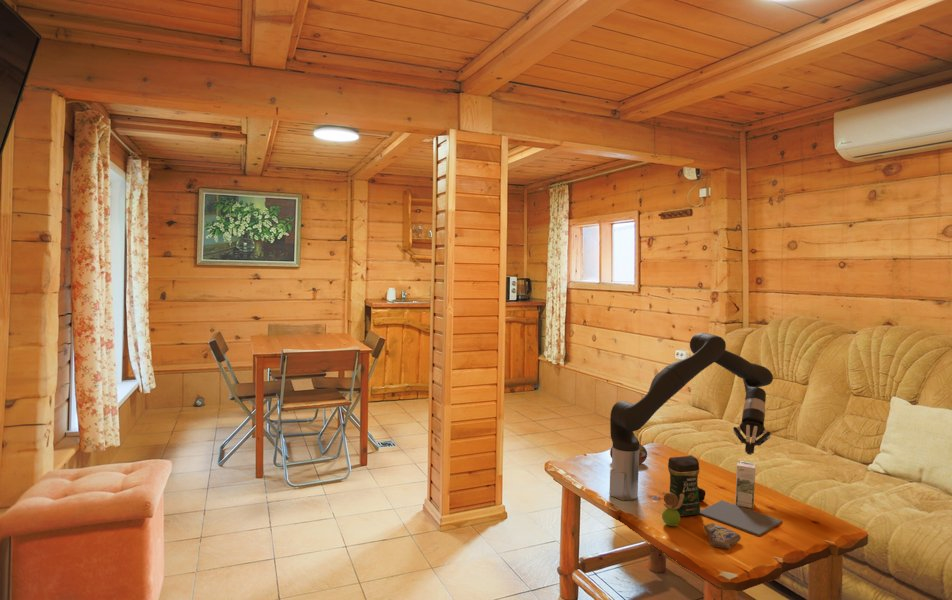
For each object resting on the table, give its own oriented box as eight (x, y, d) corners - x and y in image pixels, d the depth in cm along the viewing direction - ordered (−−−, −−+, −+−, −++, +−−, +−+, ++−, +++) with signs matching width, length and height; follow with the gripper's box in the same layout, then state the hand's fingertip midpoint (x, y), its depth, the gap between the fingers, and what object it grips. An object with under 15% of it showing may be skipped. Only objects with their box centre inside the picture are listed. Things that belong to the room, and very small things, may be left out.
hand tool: (705, 502, 197) (706, 487, 196) (692, 502, 196) (692, 486, 196) (680, 478, 219) (681, 464, 219) (668, 478, 219) (668, 464, 219)
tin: (610, 464, 234) (611, 444, 233) (609, 461, 237) (609, 441, 236) (647, 464, 234) (647, 444, 233) (644, 462, 237) (645, 442, 236)
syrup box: (753, 503, 196) (755, 462, 195) (753, 509, 191) (755, 467, 190) (735, 500, 199) (737, 459, 198) (735, 506, 193) (737, 464, 193)
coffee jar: (677, 518, 182) (675, 462, 181) (665, 508, 190) (663, 454, 189) (704, 515, 184) (703, 459, 183) (691, 505, 192) (690, 451, 191)
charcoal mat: (759, 536, 171) (759, 534, 171) (697, 513, 187) (697, 511, 187) (781, 522, 181) (782, 520, 181) (721, 501, 197) (721, 500, 197)
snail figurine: (681, 531, 173) (682, 493, 173) (659, 526, 177) (661, 488, 176) (684, 525, 178) (686, 487, 177) (664, 520, 181) (665, 483, 181)
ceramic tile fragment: (696, 521, 174) (727, 521, 174) (695, 531, 174) (727, 531, 175) (715, 541, 162) (749, 540, 162) (714, 552, 162) (748, 551, 163)
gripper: (734, 405, 215) (728, 444, 205) (773, 410, 208) (769, 451, 198) (735, 415, 220) (729, 455, 210) (773, 421, 213) (769, 462, 203)
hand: (749, 453), depth 204 cm, fingers closed
